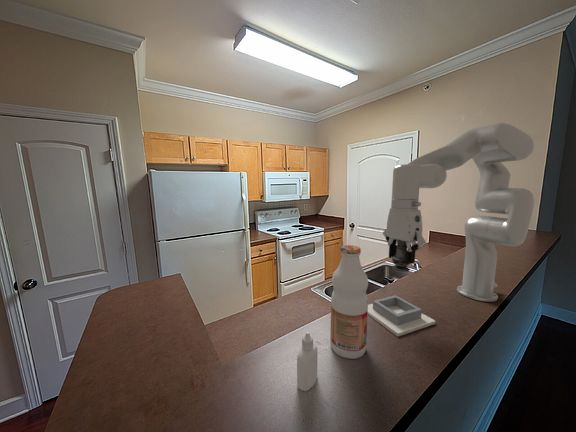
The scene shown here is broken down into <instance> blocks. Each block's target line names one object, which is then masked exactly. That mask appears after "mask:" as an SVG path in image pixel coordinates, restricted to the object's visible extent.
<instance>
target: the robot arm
mask: <svg viewBox="0 0 576 432" xmlns="http://www.w3.org/2000/svg"><path fill="white" fill-rule="evenodd" d="M534 148H535V143H534V140H533V138H532V137H531V136H530V135H529V134H528V133H527V132H525V131H523V130H522V129H519V128H518V127H516V126H514V125H512V124H510V123H506V122H499V123H493V124H489V125H484V126H483V125H482V126H480V127H475V128H471V129H468V130H467V131H464V132H462V134H460V135H459V136H457V137H456V138H454V139H453V140H451V141H450V142H448V143H447V144H446V145H444V146H442V147H439V148H437V149H434V150H433V151H429V152H428V153H425V154H423V155H421V156H418V157H416V158H414V159H413V160H411V161H409V162H408V163H407V164H405V163H404V164H398V165H397V164H396V165H395V166H394V168H393V171H392V187H391V188H392V190H391V203H390V205H391V206H390V208H389V211H388V216H387V222H386V229H385V230H384V231H383V232H382V235H383V236H384V238H385V240H386V241H387V245H388V258H390V259H392V258H391V257H392V256H394V255H396V251H397V247H396V245H397V240H401V241H405V242H406V244H407V251H406V259H405V263H406V264H409V265H411V264H414V263H415V260H416V251H418V250H419V249H420V248H421V247H424V245H426V243H427V242H426V239H425V238H424V237H423V217H422V212H421V211H422V210H420V209H419V207H421V205H422V203H421V201H419V198H420V189H437V188H438V187H441V186H442V185H443V184H444V183H445V182H446V180H447V177H448V176H447V171H450V170H453V169H457V168H460V167H461V166H463V165H465V164H466V163H467V162H469V161H470V160H471V159H472V161H473V162H474V164H475V165H476V167H477V168H478V171H479V181H478V188H477V192H476V196H475V201H474V207H475V209H476V210H477V211H479V212H481V213H487V214H488V213H489V214H499V215H507V217H497V216H489V215H474V216H470V217H469V218H468V219H466V221H465V223H464V235H465V252H464V263H463V271H462V273H463V274H462V283H461V284H460V285H458V286H456V287H457V288H456V291H457V292H458V293H459V294H460V295H462V296H463V297H467V298H469V299H472V300H474V301H480V302H487V303H488V302H496V301H497V300H498V299H499V296H498V294H497V293H495V292H494V288H497V287H498V284H497V283H496V282H495V278H496V268H497V261H498V252H497V248H496V247H495V245H494V244H498V245H503V246H509V247H519V246H521V245H522V244H523V243H524V242H525V241H526V239H527V236H528V232H529V228H530V223H531V219H532V215H533V211H534V205H535V198H534V195H533V192H531V190H529V189H527V188H523V187H521V188H520V187H509V186H510V181H511V180H510V179H511V173H510V171H509V169H508V168H507V167H506V166H505V165H504V164H503V163H505V162H517V161H522V160H525V159H526V158H528V157H530V156H531V154H532V153H533V151H534ZM493 243H494V244H493Z"/></svg>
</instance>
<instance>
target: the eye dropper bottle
mask: <svg viewBox="0 0 576 432" xmlns="http://www.w3.org/2000/svg"><path fill="white" fill-rule="evenodd" d="M296 357H297V359H296V361H297V362H296V386H297V388H298V389H300V390H301V391H303V392H308V391H310V390H311V389H312V388H313V387H314V386H315V384H316V382H317V381H318V380H317V379H318V347H317V345H316V344H314V337H313V336H312V335H311V334H310V331H306V332H305V334H304V335H303V336H302V338H301V347H300V349H299V351H298V353H297V356H296ZM313 385H314V386H313ZM311 387H312V388H311ZM310 388H311V389H310ZM307 390H308V391H307Z"/></svg>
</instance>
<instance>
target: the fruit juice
mask: <svg viewBox="0 0 576 432" xmlns="http://www.w3.org/2000/svg"><path fill="white" fill-rule="evenodd" d="M361 249H362V248H361V247H360V246H357V245H351V244H350V245H349V244H346V245H342V246H341V247H340V254H341V259H340V261H339V264H338V266H337V267H336V269H335V270H334V271H333V272H332V273H333V274H332V277H331V278H332V279H331V283H332V288H333V291H332V293H331V300H330V339H329V340H330V346H331V349H332V350H333V352H334V353H335V354H336V355H338V356H340V357H342V358H344V359H347V360H348V359H349V360H355V359H359V358H362V357H363V356H364V355H365V353H366V351H367V336H368V335H367V332H368V314H367V313H368V305H369V299H368V296H367V293H366V292H367V289H368V287H369V279H368V278H369V277H368V276H367V273H366V272H365V271H364V269H363V268H362V265H361V260H360V255H361V251H362V250H361Z"/></svg>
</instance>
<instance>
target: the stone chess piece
mask: <svg viewBox="0 0 576 432" xmlns="http://www.w3.org/2000/svg"><path fill="white" fill-rule="evenodd" d="M396 247H397V251H396V255H394V256H392V257H391V258H390V259H391V261H392V263H393V264H394V265H392V266H391V269H393V270H394V271H396V272H403V273H405V272H406V273H407V272H410V271H411V269H410V268H409V267H407V266H409V265H410V264H406V263H405V259H406V251H408V249H407V244H406V242H405V241H401V240H397V244H396Z"/></svg>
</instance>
